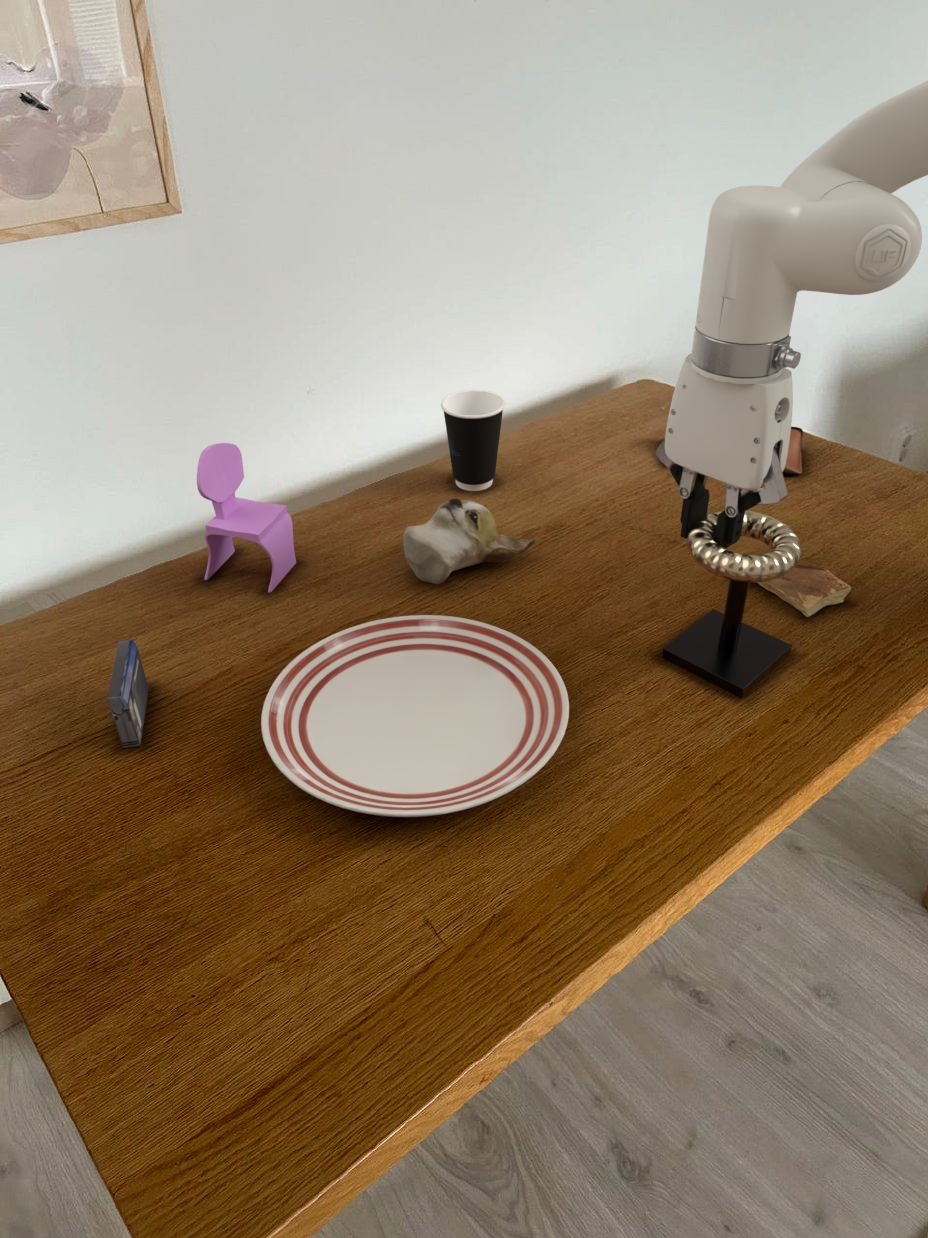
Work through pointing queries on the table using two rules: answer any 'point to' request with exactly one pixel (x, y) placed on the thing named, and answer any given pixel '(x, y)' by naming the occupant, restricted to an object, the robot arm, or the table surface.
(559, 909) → the table surface
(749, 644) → the stand
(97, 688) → the table surface
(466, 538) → the ceramic sculpture
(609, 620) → the table surface
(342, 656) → the dinner plate
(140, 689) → the mini dv tape
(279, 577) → the toy chair
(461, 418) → the dixie cup
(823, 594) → the shard
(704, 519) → the ribbed metal ring
